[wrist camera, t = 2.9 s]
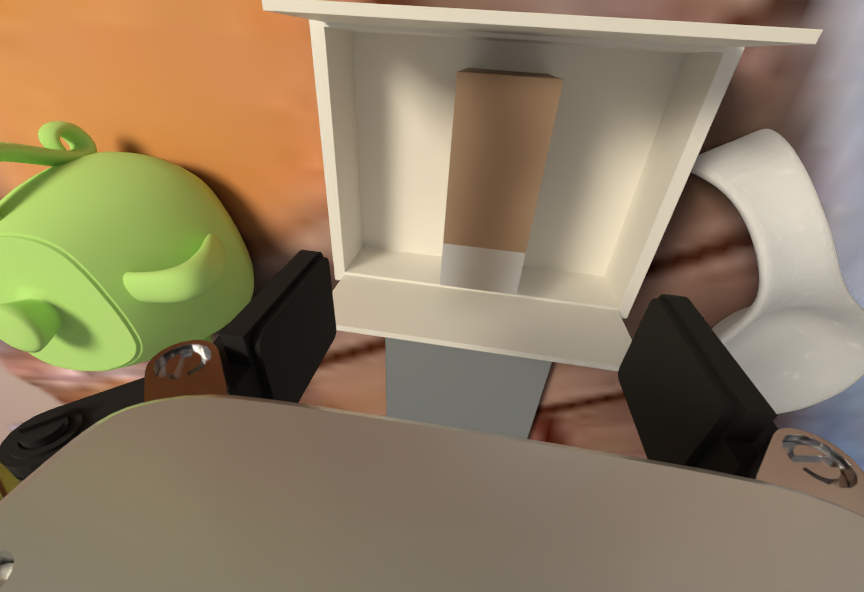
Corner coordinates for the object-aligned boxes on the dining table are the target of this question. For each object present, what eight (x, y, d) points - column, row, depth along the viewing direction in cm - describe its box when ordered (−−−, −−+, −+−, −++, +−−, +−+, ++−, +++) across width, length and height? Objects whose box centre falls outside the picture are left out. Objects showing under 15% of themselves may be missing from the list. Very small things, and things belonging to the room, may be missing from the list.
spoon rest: (842, 368, 32) (921, 440, 26) (688, 400, 36) (725, 468, 30) (827, 94, 22) (948, 108, 16) (620, 185, 27) (655, 222, 21)
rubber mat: (555, 340, 34) (556, 347, 34) (519, 455, 44) (519, 463, 44) (387, 316, 36) (385, 322, 35) (388, 432, 46) (386, 439, 45)
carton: (702, 37, 21) (853, 23, 12) (609, 282, 30) (656, 379, 21) (341, 15, 23) (241, -11, 14) (356, 251, 33) (300, 326, 23)
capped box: (547, 73, 23) (563, 79, 17) (513, 248, 30) (516, 295, 24) (467, 68, 23) (457, 71, 18) (451, 240, 30) (439, 284, 24)
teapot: (82, 83, 28) (-223, 103, 16) (313, 229, 32) (202, 331, 20) (75, 257, 38) (-118, 349, 26) (252, 353, 42) (154, 471, 30)
